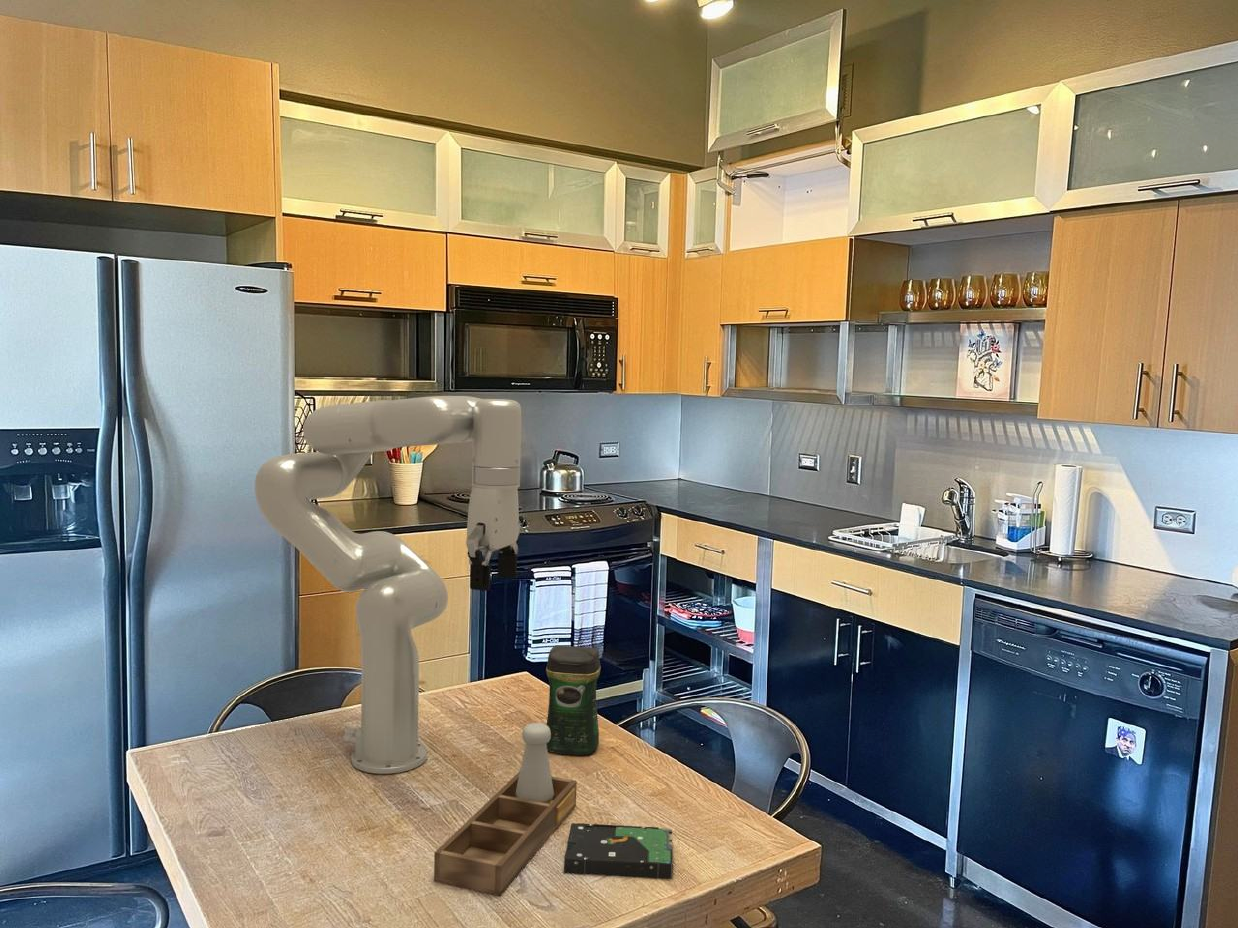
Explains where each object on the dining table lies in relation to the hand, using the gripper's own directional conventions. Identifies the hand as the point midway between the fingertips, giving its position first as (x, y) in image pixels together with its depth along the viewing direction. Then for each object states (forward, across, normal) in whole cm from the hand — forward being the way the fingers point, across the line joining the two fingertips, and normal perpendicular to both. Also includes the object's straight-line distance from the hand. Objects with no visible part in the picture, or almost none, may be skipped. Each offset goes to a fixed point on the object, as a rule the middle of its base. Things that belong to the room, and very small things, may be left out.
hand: (493, 583), depth 148 cm
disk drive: (+34, +14, +27) cm, 46 cm away
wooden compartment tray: (+33, +16, +11) cm, 38 cm away
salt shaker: (+33, +7, +11) cm, 35 cm away
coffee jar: (+34, -19, +7) cm, 39 cm away
